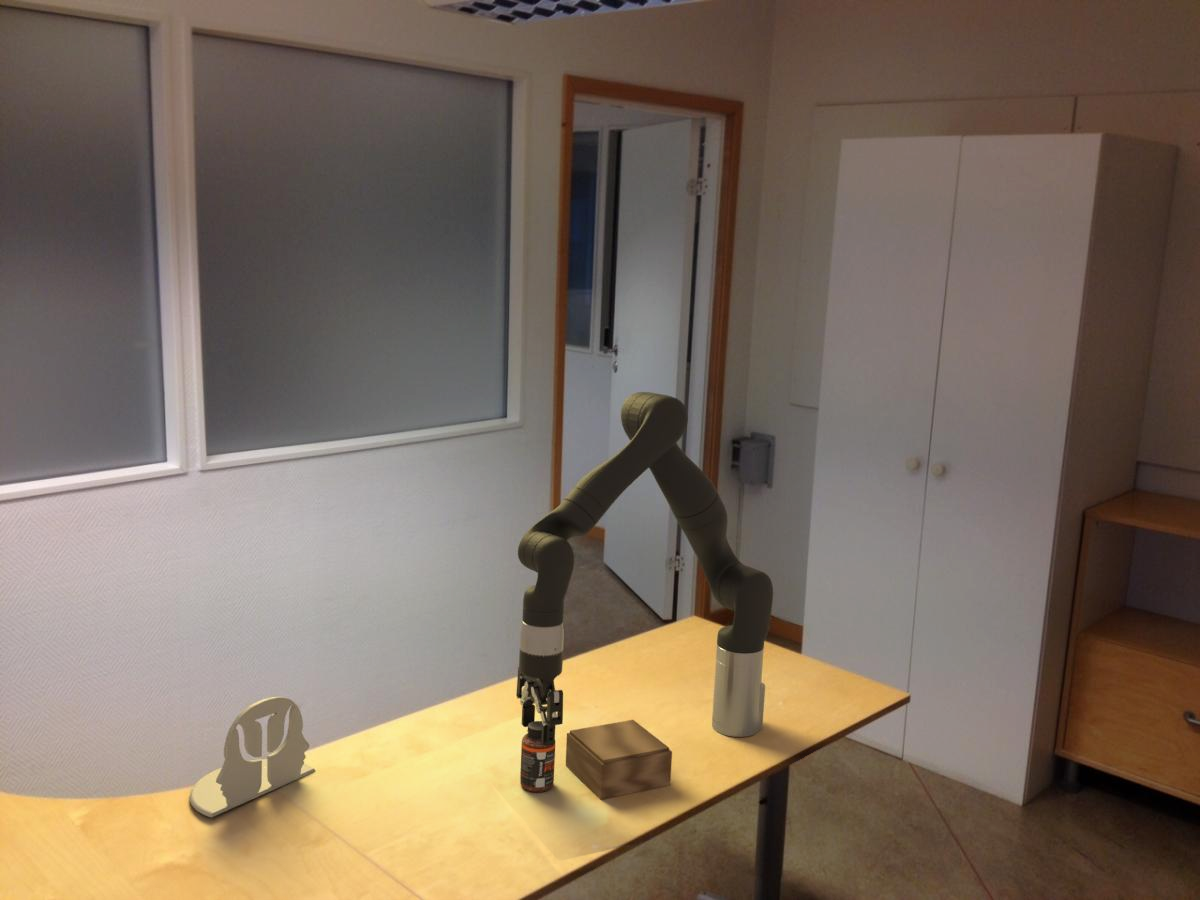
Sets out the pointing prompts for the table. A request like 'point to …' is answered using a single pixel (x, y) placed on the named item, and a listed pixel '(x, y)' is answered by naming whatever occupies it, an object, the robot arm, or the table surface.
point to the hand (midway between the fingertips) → (537, 734)
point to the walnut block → (618, 759)
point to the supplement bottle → (536, 760)
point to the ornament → (250, 777)
